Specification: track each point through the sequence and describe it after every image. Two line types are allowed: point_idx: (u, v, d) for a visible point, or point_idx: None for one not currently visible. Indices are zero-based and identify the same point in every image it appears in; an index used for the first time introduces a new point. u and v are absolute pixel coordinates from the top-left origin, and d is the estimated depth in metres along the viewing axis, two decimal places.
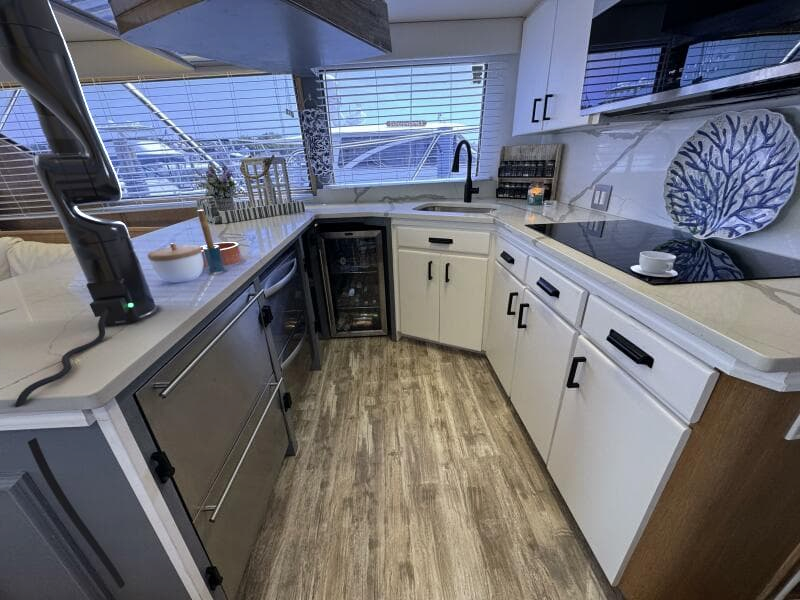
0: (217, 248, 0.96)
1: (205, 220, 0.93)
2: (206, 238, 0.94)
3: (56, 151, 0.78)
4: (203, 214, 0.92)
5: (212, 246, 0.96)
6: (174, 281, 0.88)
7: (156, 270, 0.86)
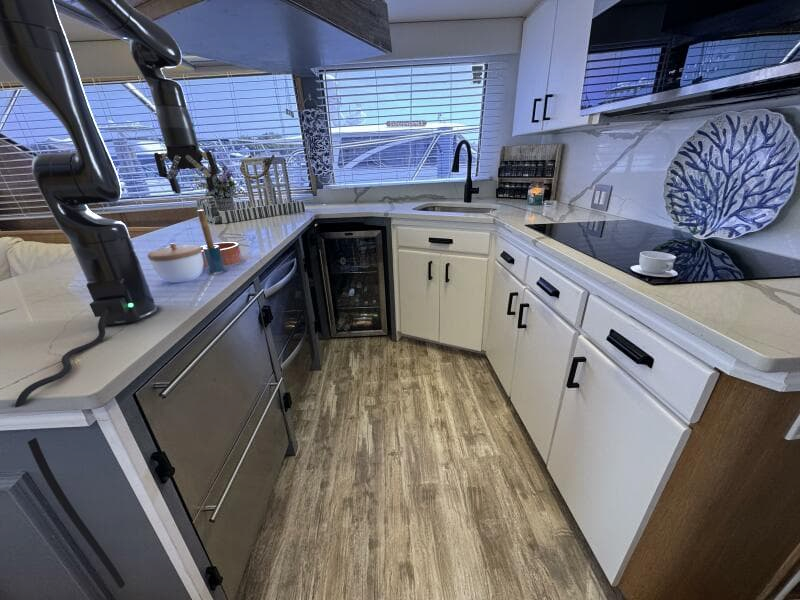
0: (217, 248, 0.96)
1: (205, 220, 0.93)
2: (206, 238, 0.94)
3: (165, 140, 0.82)
4: (203, 214, 0.92)
5: (212, 246, 0.96)
6: (174, 281, 0.88)
7: (156, 270, 0.86)
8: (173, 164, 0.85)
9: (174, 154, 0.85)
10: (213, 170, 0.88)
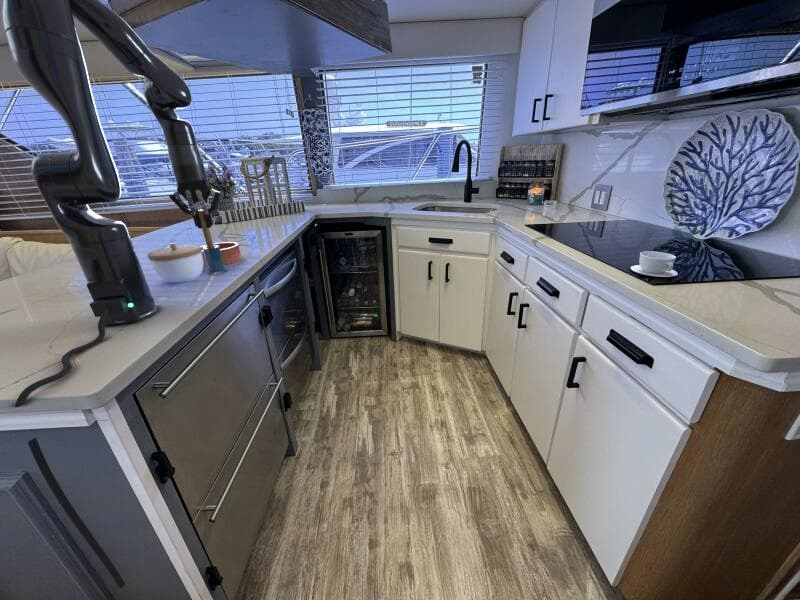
0: (217, 248, 0.96)
1: None
2: (206, 238, 0.94)
3: (176, 177, 0.86)
4: (203, 214, 0.92)
5: (212, 246, 0.96)
6: (174, 281, 0.88)
7: (156, 270, 0.86)
8: None
9: (184, 189, 0.88)
10: (212, 208, 0.92)
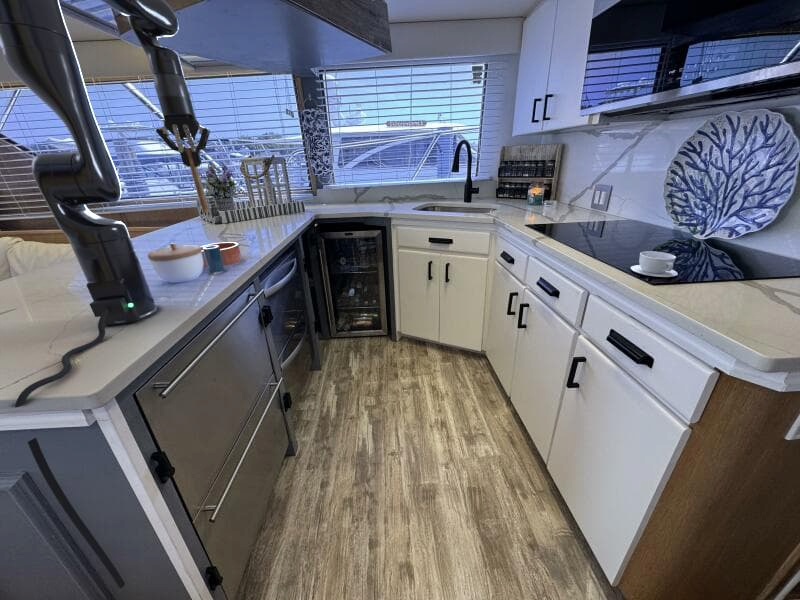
0: (217, 248, 0.96)
1: None
2: (194, 177, 0.93)
3: (162, 109, 0.84)
4: (191, 152, 0.91)
5: (201, 186, 0.95)
6: (174, 281, 0.88)
7: (156, 270, 0.86)
8: None
9: (171, 123, 0.87)
10: (200, 145, 0.90)
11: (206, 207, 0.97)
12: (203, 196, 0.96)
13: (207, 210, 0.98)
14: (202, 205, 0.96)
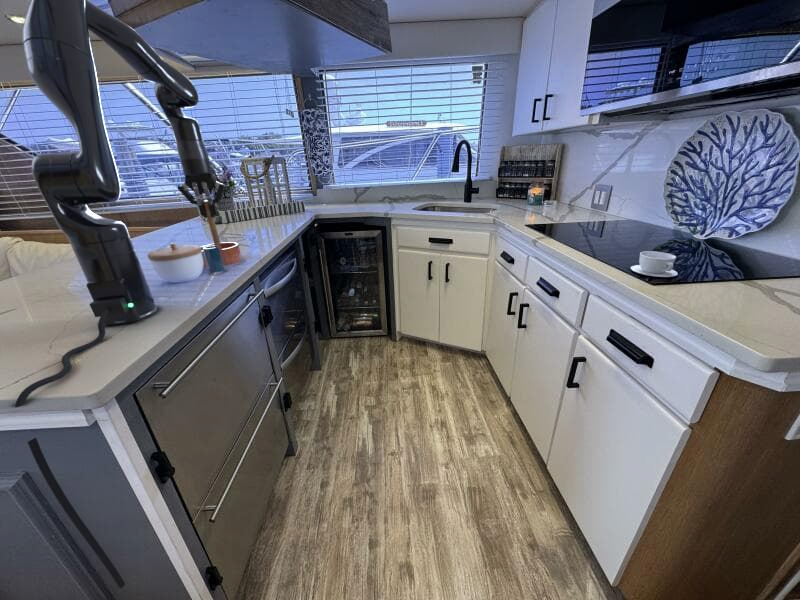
0: (217, 248, 0.96)
1: None
2: (211, 226, 1.03)
3: (184, 170, 0.94)
4: (208, 204, 1.01)
5: (216, 234, 1.04)
6: (174, 281, 0.88)
7: (156, 270, 0.86)
8: None
9: (191, 181, 0.97)
10: (216, 199, 1.00)
11: None
12: (218, 242, 1.05)
13: None
14: None
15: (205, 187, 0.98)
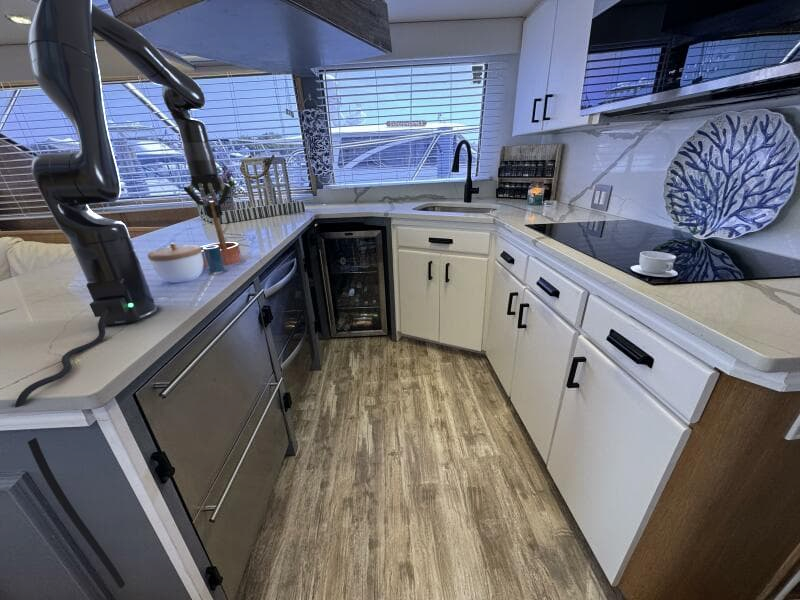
0: (217, 248, 0.96)
1: (215, 210, 1.03)
2: (216, 227, 1.04)
3: (190, 171, 0.95)
4: (214, 205, 1.02)
5: (222, 234, 1.06)
6: (174, 281, 0.88)
7: (156, 270, 0.86)
8: None
9: (197, 182, 0.98)
10: (222, 199, 1.01)
11: None
12: (224, 242, 1.07)
13: None
14: None
15: (211, 188, 0.99)
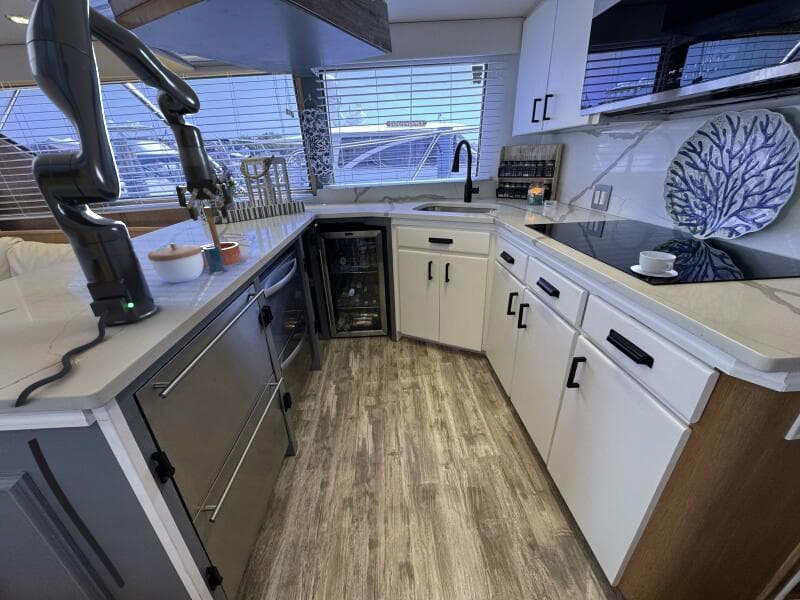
0: (217, 248, 0.96)
1: (211, 216, 1.02)
2: (212, 233, 1.03)
3: (185, 176, 0.94)
4: (209, 211, 1.01)
5: (217, 240, 1.05)
6: (174, 281, 0.88)
7: (156, 270, 0.86)
8: (192, 196, 0.97)
9: (193, 187, 0.97)
10: (227, 200, 1.00)
11: None
12: (219, 248, 1.06)
13: None
14: None
15: (208, 192, 0.98)
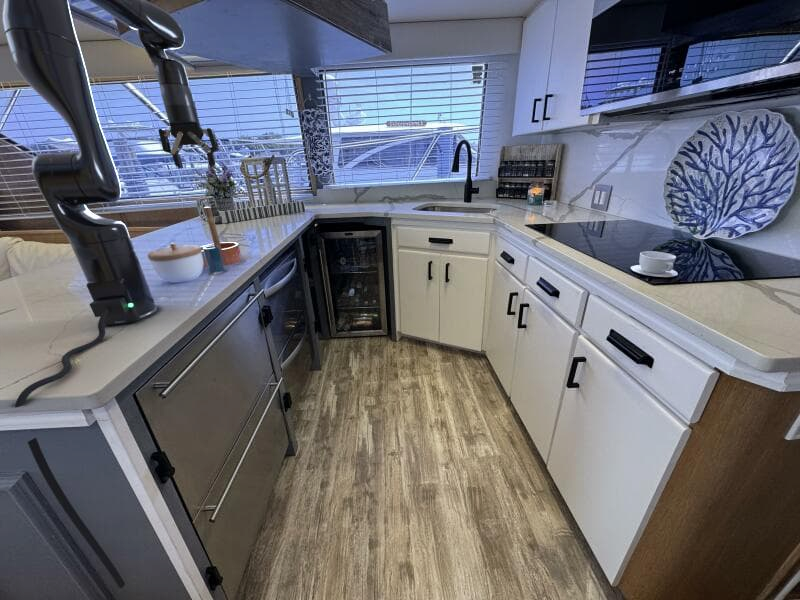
0: (217, 248, 0.96)
1: (211, 216, 1.02)
2: (212, 233, 1.03)
3: (169, 117, 0.88)
4: (209, 211, 1.01)
5: (217, 240, 1.05)
6: (174, 281, 0.88)
7: (156, 270, 0.86)
8: (176, 140, 0.91)
9: (177, 130, 0.91)
10: (214, 146, 0.94)
11: None
12: (219, 248, 1.06)
13: None
14: None
15: (194, 136, 0.92)
